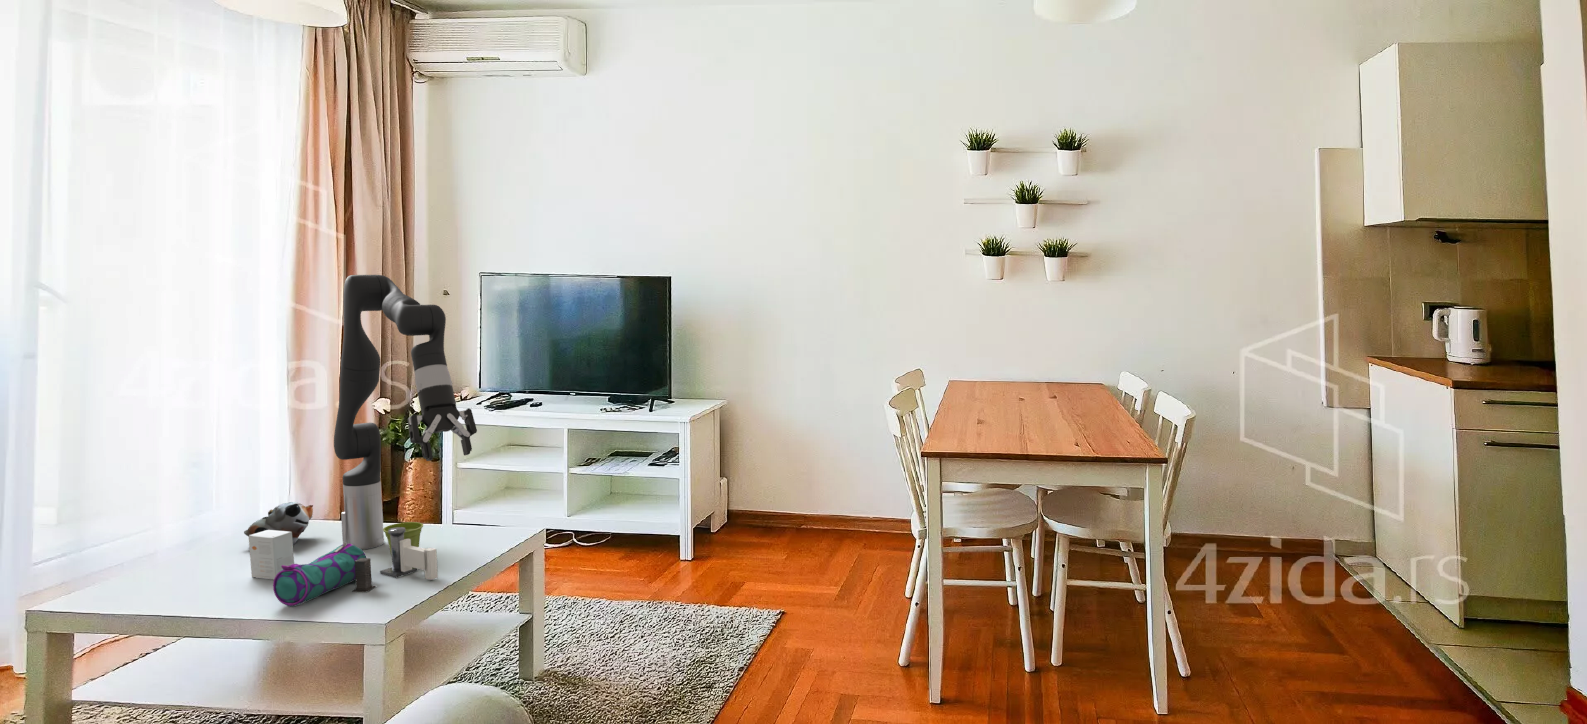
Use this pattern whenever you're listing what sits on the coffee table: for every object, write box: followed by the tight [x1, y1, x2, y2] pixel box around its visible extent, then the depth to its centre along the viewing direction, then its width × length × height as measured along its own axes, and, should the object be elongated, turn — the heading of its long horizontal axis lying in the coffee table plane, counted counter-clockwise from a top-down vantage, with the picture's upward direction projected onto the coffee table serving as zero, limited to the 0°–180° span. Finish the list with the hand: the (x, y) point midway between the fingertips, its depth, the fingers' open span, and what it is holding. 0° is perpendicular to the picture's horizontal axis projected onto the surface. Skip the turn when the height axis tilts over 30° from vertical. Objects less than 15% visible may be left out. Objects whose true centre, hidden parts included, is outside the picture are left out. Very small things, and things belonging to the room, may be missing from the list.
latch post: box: [351, 557, 377, 593], centre depth 208 cm, size 4×4×7 cm
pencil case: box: [272, 543, 367, 607], centre depth 206 cm, size 21×9×10 cm, turn 169°
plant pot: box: [383, 521, 424, 553], centre depth 230 cm, size 9×9×9 cm
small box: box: [248, 530, 295, 581], centre depth 219 cm, size 8×6×10 cm
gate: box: [400, 539, 439, 581], centre depth 216 cm, size 11×2×8 cm, turn 59°
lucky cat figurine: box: [243, 501, 314, 546], centre depth 247 cm, size 15×12×14 cm
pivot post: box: [379, 527, 419, 579], centre depth 220 cm, size 6×6×11 cm
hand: (448, 457), depth 201 cm, fingers open, 8 cm apart
